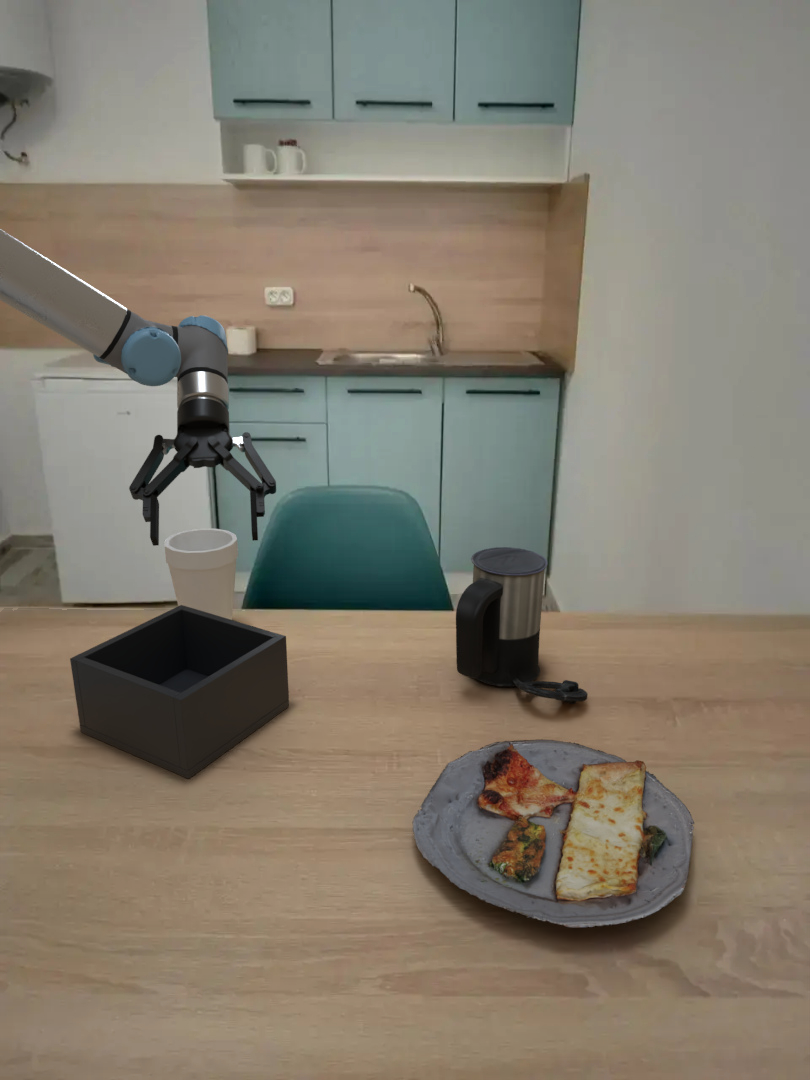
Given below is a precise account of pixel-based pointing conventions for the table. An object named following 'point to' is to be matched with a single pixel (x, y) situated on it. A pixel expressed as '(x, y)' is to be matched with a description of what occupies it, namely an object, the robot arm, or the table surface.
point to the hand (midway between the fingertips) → (205, 539)
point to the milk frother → (506, 624)
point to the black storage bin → (181, 687)
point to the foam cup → (203, 569)
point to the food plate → (557, 832)
